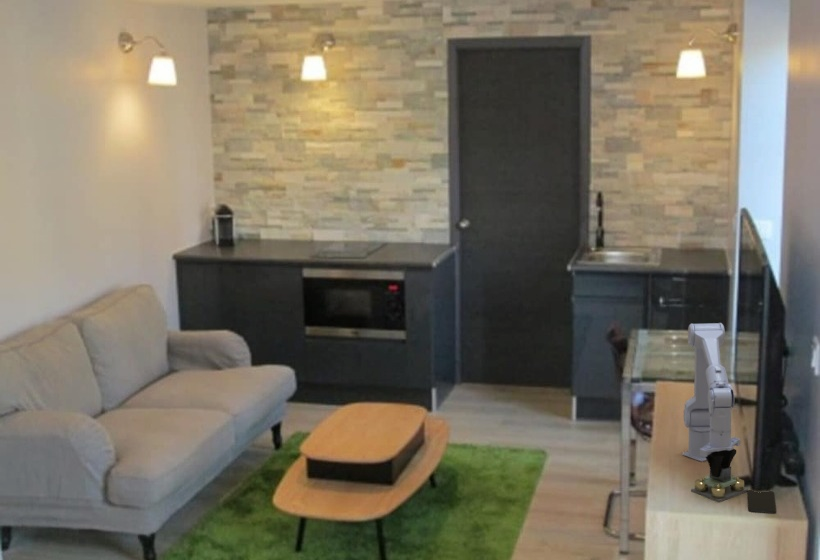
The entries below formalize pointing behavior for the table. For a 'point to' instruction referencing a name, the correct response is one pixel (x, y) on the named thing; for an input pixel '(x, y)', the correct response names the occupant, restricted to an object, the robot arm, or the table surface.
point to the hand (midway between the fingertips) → (719, 474)
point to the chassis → (719, 490)
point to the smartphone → (761, 502)
